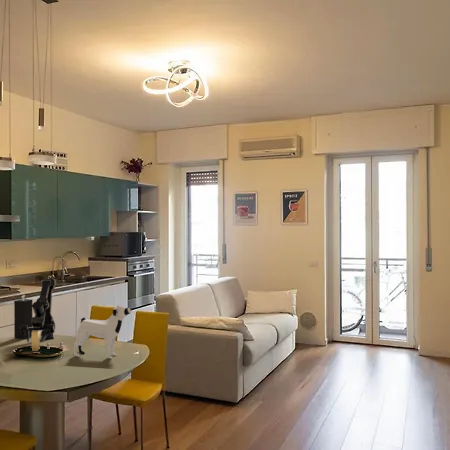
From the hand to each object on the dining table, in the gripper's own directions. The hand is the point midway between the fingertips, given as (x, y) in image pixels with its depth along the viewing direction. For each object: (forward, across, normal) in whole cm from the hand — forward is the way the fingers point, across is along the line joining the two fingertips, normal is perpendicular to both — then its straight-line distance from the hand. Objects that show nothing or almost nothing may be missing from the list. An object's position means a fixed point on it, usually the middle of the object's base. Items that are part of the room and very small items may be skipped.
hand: (35, 341), depth 266 cm
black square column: (-24, -16, +33) cm, 44 cm away
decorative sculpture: (+15, +40, -5) cm, 42 cm away
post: (+3, 0, +5) cm, 6 cm away
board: (+3, +5, +6) cm, 9 cm away
